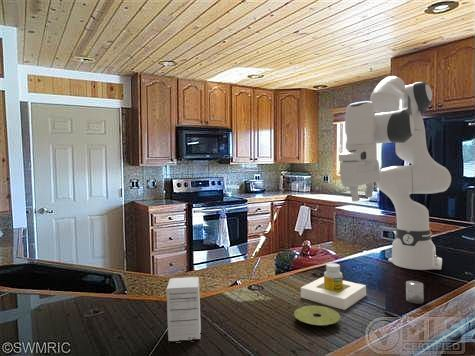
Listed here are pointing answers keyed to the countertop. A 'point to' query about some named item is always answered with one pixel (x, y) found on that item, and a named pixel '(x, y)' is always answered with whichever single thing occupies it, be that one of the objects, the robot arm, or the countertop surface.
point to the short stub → (414, 292)
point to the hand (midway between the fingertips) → (362, 199)
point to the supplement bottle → (333, 278)
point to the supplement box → (183, 309)
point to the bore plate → (334, 294)
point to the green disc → (317, 315)
